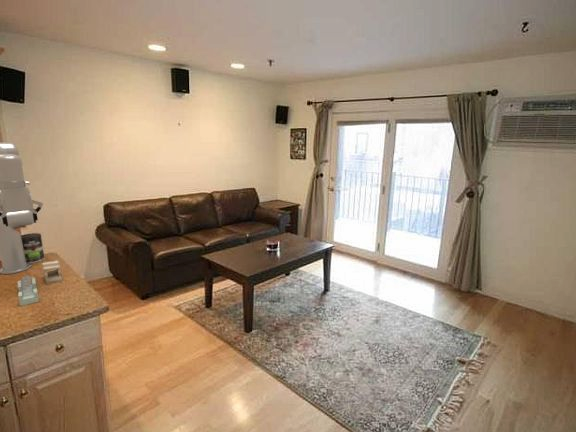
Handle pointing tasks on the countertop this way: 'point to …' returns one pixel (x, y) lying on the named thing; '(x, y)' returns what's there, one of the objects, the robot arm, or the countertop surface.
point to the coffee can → (33, 247)
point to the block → (52, 275)
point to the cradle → (29, 298)
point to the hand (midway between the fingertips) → (21, 223)
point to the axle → (27, 286)
